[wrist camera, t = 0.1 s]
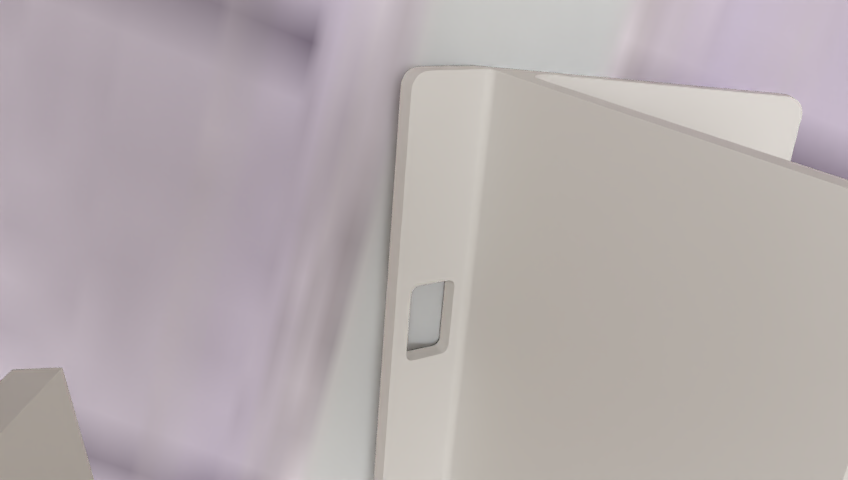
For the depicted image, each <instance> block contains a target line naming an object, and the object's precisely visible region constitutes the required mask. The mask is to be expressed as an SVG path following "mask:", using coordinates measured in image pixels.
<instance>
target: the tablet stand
mask: <svg viewBox="0 0 848 480" xmlns="http://www.w3.org/2000/svg"><path fill="white" fill-rule="evenodd" d="M801 118H802V107H801V105H800V103H799V102H798V101H797V100H796V99H794V98H793V97H791V96H789V95H787V94H780V93H769V92H759V91H748V90H737V89H726V88H715V87H704V86H693V85H682V84H671V83H661V82H650V81H639V80H628V79H617V78H606V77H595V76H584V75H573V74H562V73H552V72H541V71H530V70H519V69H508V68H497V67H486V66H475V65H470V66H418V67H413V68H411V69H410V70H408V71H407V72H406V73H405V75H404V76H403V78H402V81H401V88H400V103H399V118H398V132H397V147H396V161H395V176H394V191H393V205H392V220H391V235H390V249H389V264H388V278H387V293H386V308H385V322H384V337H383V352H382V366H381V381H380V395H379V410H378V425H377V439H376V454H375V469H374V480H848V180H846V179H843V178H840V177H837V176H834V175H831V174H828V173H825V172H822V171H819V170H816V169H813V168H809V167H806V166H803V165H800V164H797V163H794V162H791V161H790V160H791V157H792V153H793V149H794V145H795V141H796V137H797V133H798V129H799V125H800V121H801ZM442 281H445V288H444V298H443V308H442V318H441V329H440V338H439V341H438V342H437V344H435V345H434V346H430V347H425V348H420V349H415V350H411V351H407V341H408V329H409V316H410V304H411V293H412V291H413V289H414V288H415V287H417V286H420V285H426V284H431V283H436V282H442Z"/></svg>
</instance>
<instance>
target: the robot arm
mask: <svg viewBox="0 0 848 480" xmlns="http://www.w3.org/2000/svg"><path fill="white" fill-rule="evenodd" d="M0 480H94V478H93V475H92V471H91V468H90V464H89V461H88V457H87V454H86V450H85V447H84V443H83V440H82V436H81V432H80V429H79V425H78V422H77V418H76V415H75V411H74V408H73V404H72V401H71V397H70V393H69V390H68V386H67V383H66V379H65V376H64V372H63V369H62V368H41V369H16V370H11V371H10V372H9V373H8V374H7V375H6V376H5V377H4V378H3V379H2V380H1V381H0Z"/></svg>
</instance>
